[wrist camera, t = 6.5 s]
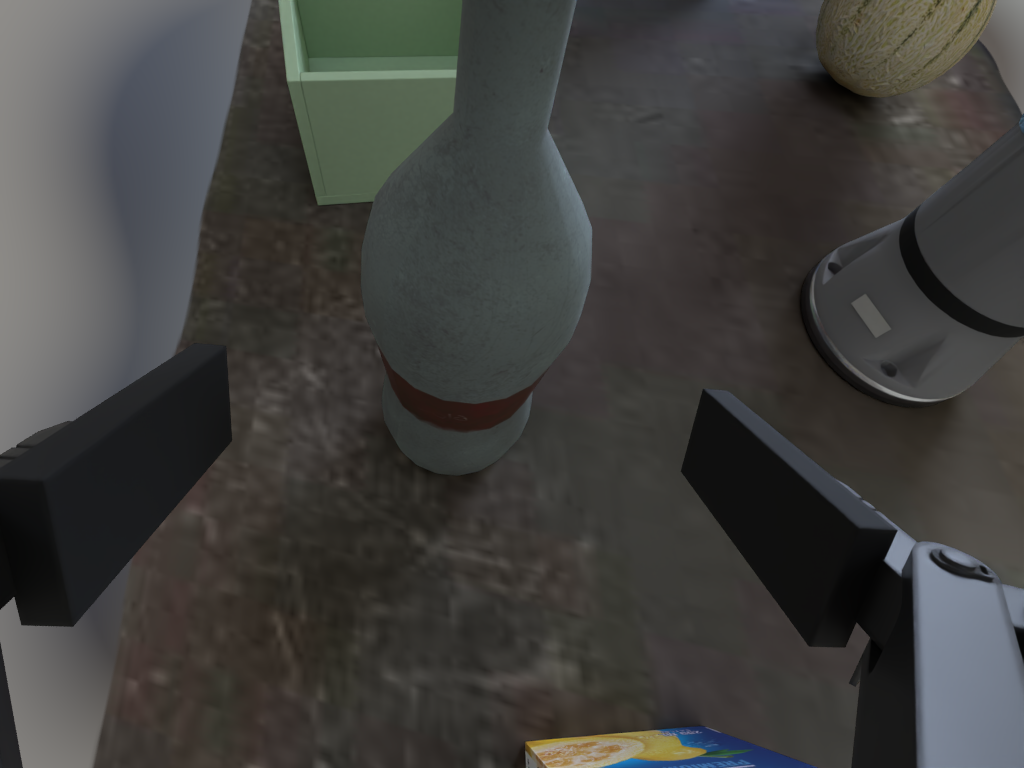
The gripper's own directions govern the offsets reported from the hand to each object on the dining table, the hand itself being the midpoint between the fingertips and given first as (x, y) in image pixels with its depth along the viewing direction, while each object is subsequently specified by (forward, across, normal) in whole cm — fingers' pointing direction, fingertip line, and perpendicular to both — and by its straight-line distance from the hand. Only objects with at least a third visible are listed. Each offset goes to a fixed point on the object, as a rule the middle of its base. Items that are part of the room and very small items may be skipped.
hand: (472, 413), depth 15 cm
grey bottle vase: (+21, 0, -10) cm, 23 cm away
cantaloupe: (+52, +41, +21) cm, 69 cm away
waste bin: (+40, -6, +9) cm, 42 cm away
